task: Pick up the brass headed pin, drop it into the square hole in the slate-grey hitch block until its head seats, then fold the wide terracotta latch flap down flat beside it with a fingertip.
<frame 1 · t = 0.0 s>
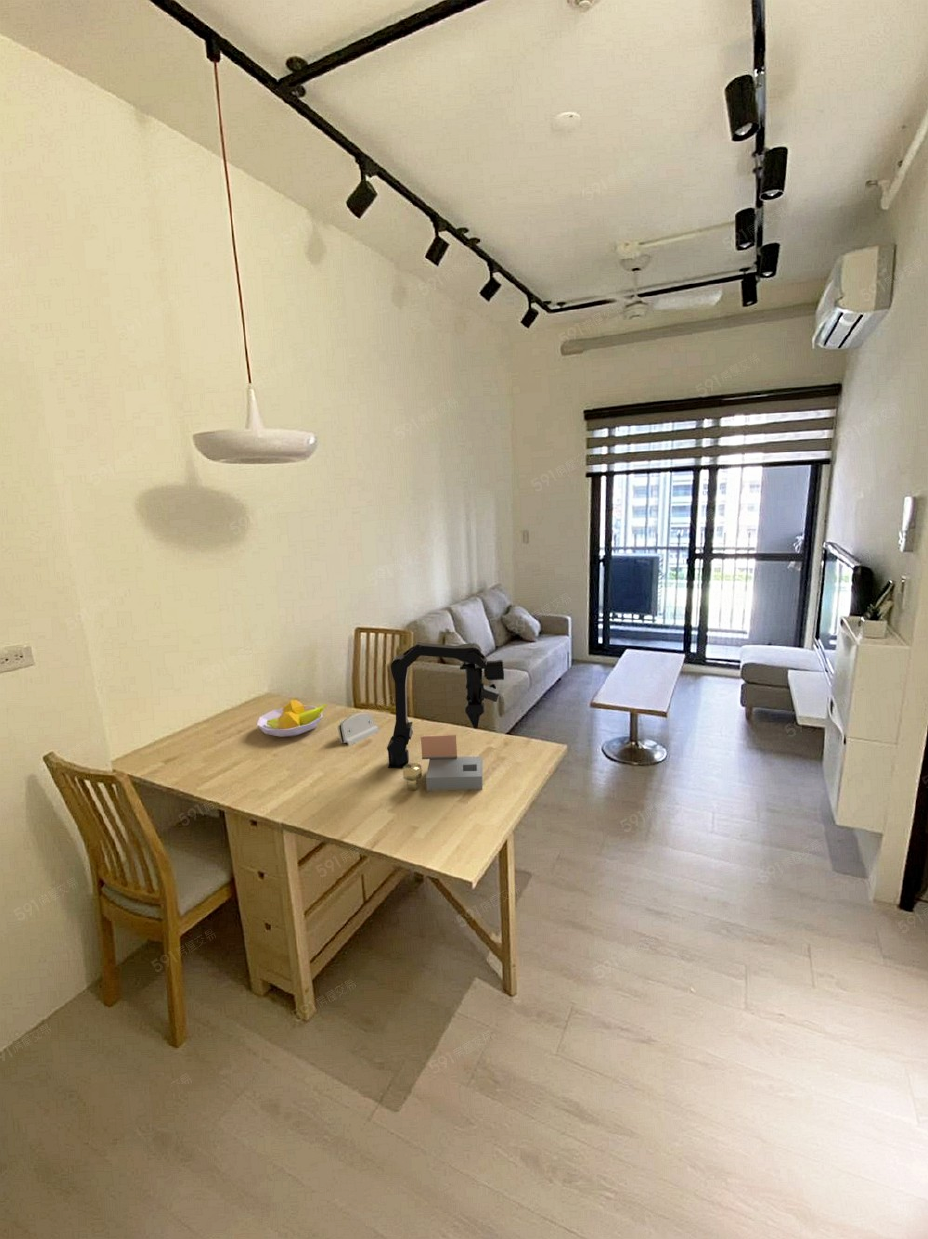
hand: (476, 723, 192), 15 cm above the table, fingers open, 9 cm apart
fruit bowl: (294, 730, 231), on the table
brass pin: (413, 787, 180), on the table
hitch block: (455, 779, 184), on the table
hinge: (358, 737, 222), on the table
latch flap: (439, 747, 188), point 9 cm above the table, hinge at 0.0°
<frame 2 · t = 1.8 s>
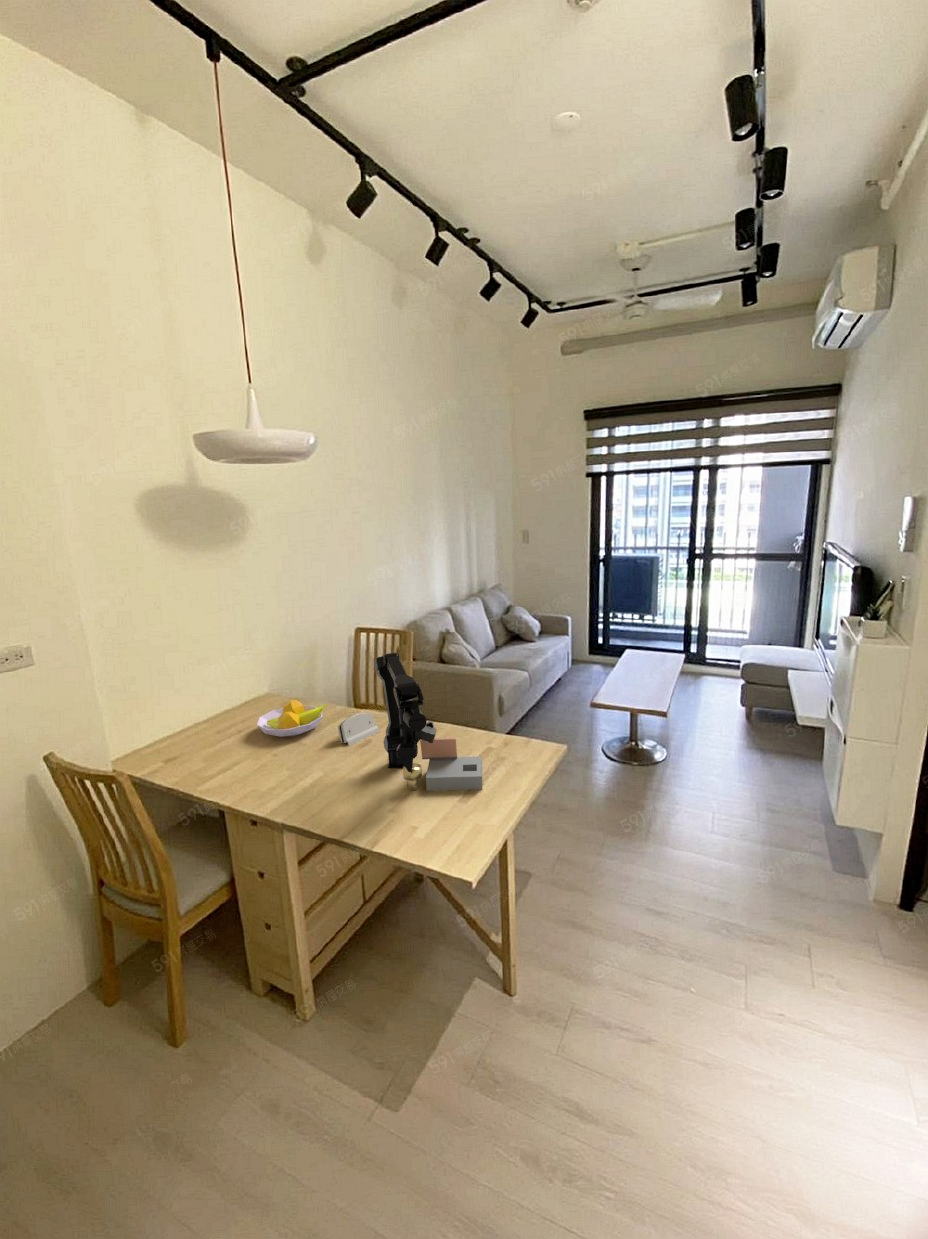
hand: (411, 764, 178), 8 cm above the table, fingers open, 9 cm apart
latch flap: (438, 748, 187), point 9 cm above the table, hinge at 15.1°
everything else where it was.
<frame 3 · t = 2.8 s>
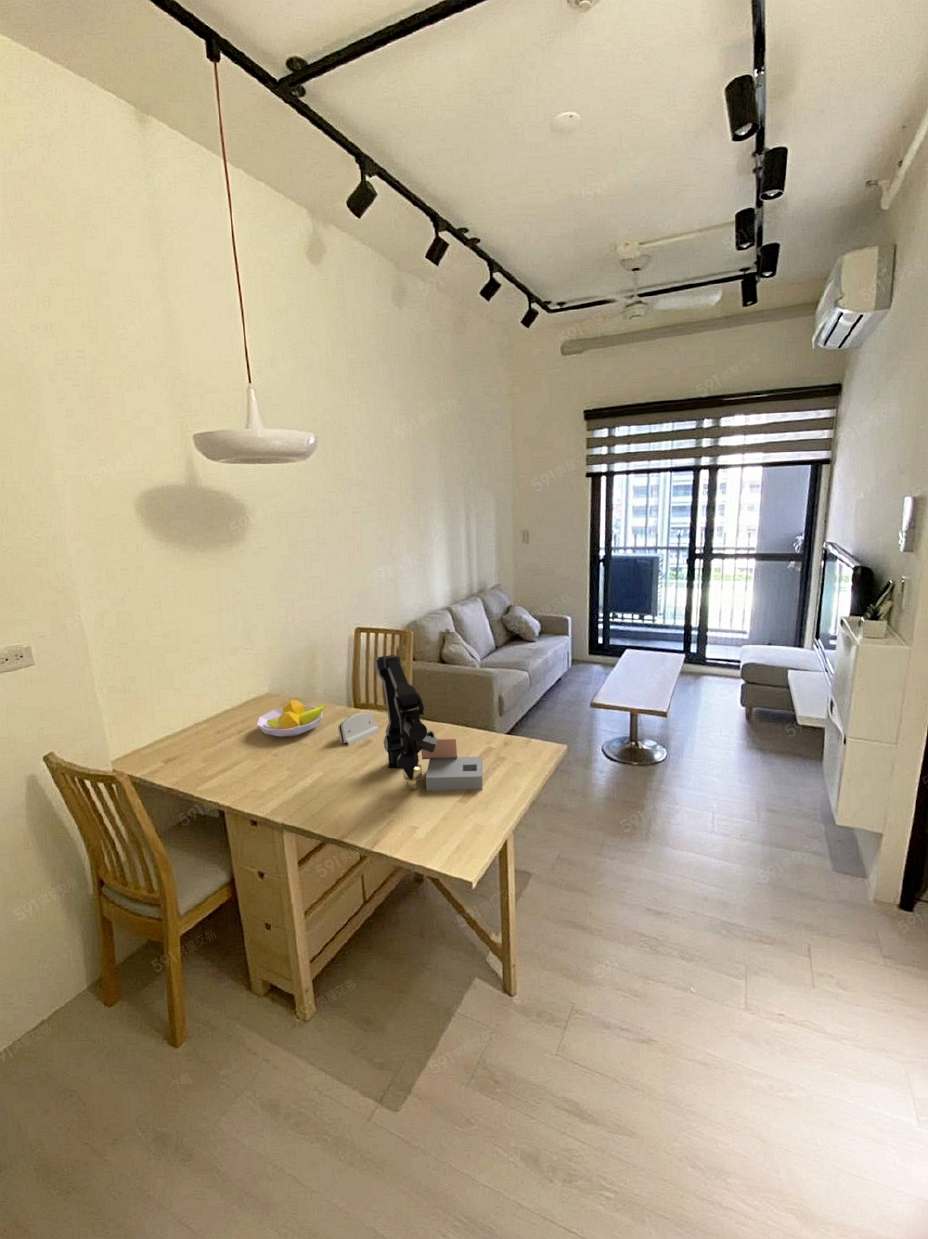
hand: (412, 774, 179), 5 cm above the table, fingers closed on brass pin, 6 cm apart
brass pin: (413, 787, 180), on the table, touching gripper
everything else where it was.
when the fingers open (5 cm above the table, at t = 7.5 s): brass pin stays where it is, resting on hitch block.
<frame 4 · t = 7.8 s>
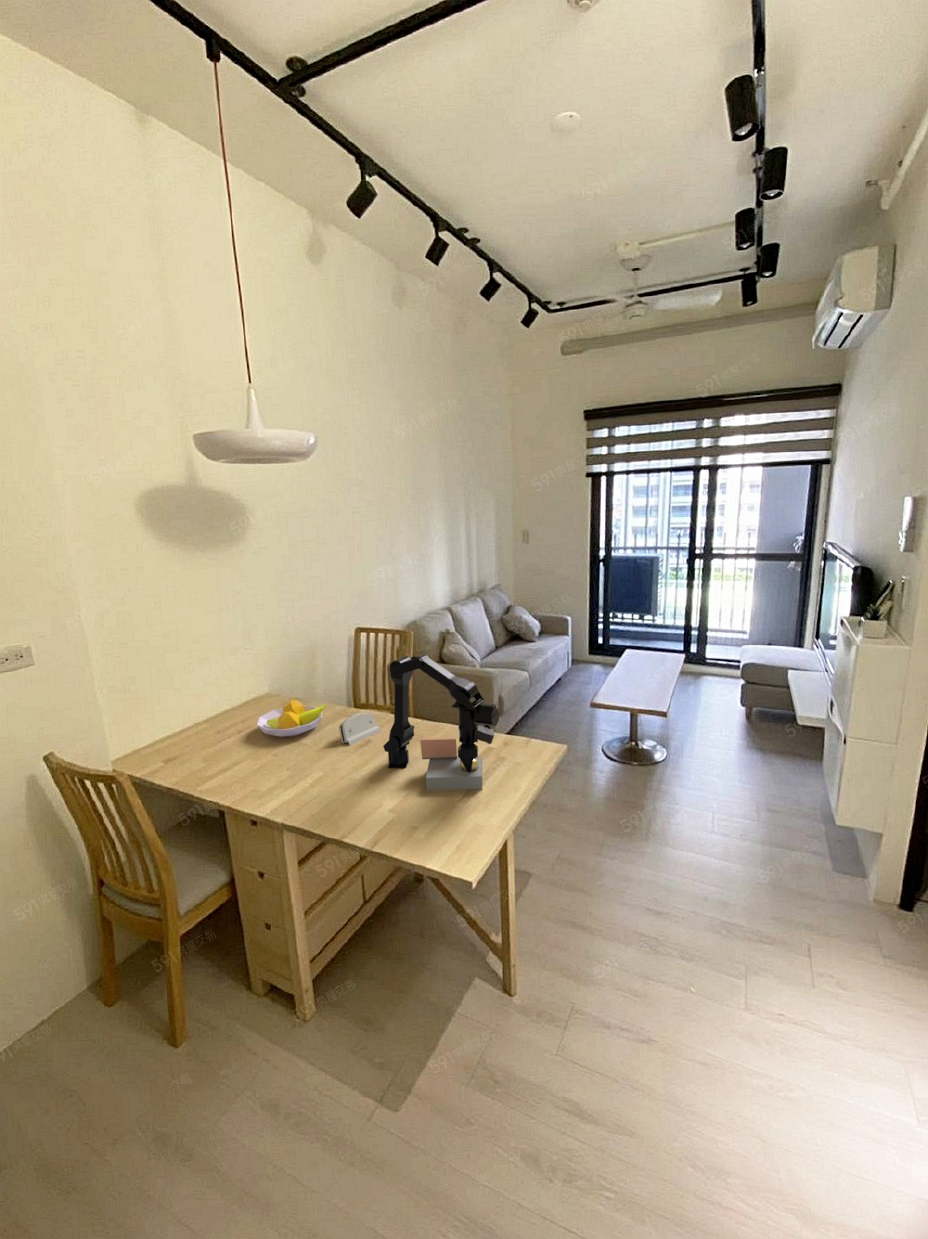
hand: (469, 765, 182), 5 cm above the table, fingers open, 9 cm apart
brass pin: (470, 779, 183), resting on hitch block
everything else where it was.
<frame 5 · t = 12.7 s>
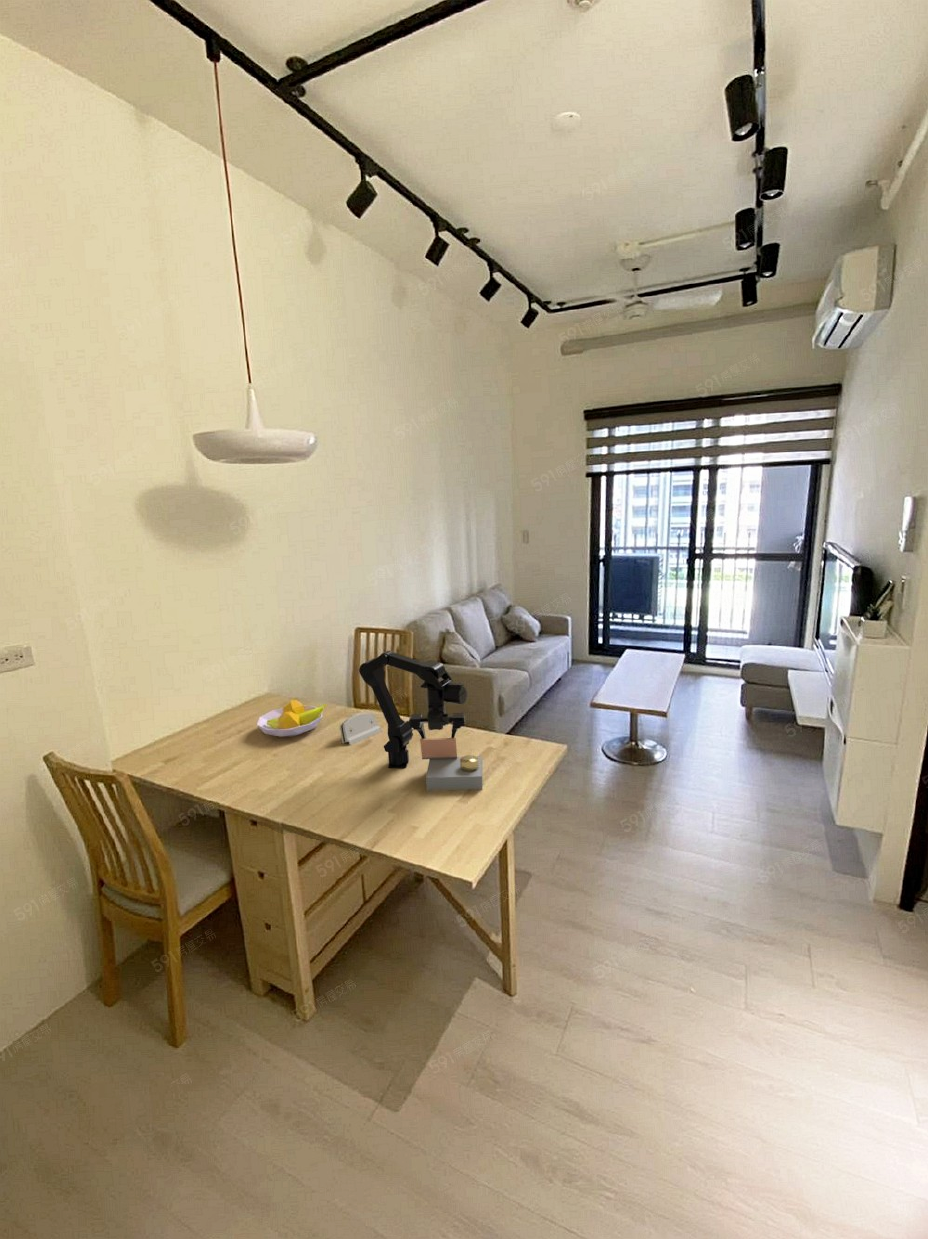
hand: (438, 743, 188), 10 cm above the table
latch flap: (438, 748, 187), point 9 cm above the table, hinge at 15.4°, touching gripper
everything else where it was.
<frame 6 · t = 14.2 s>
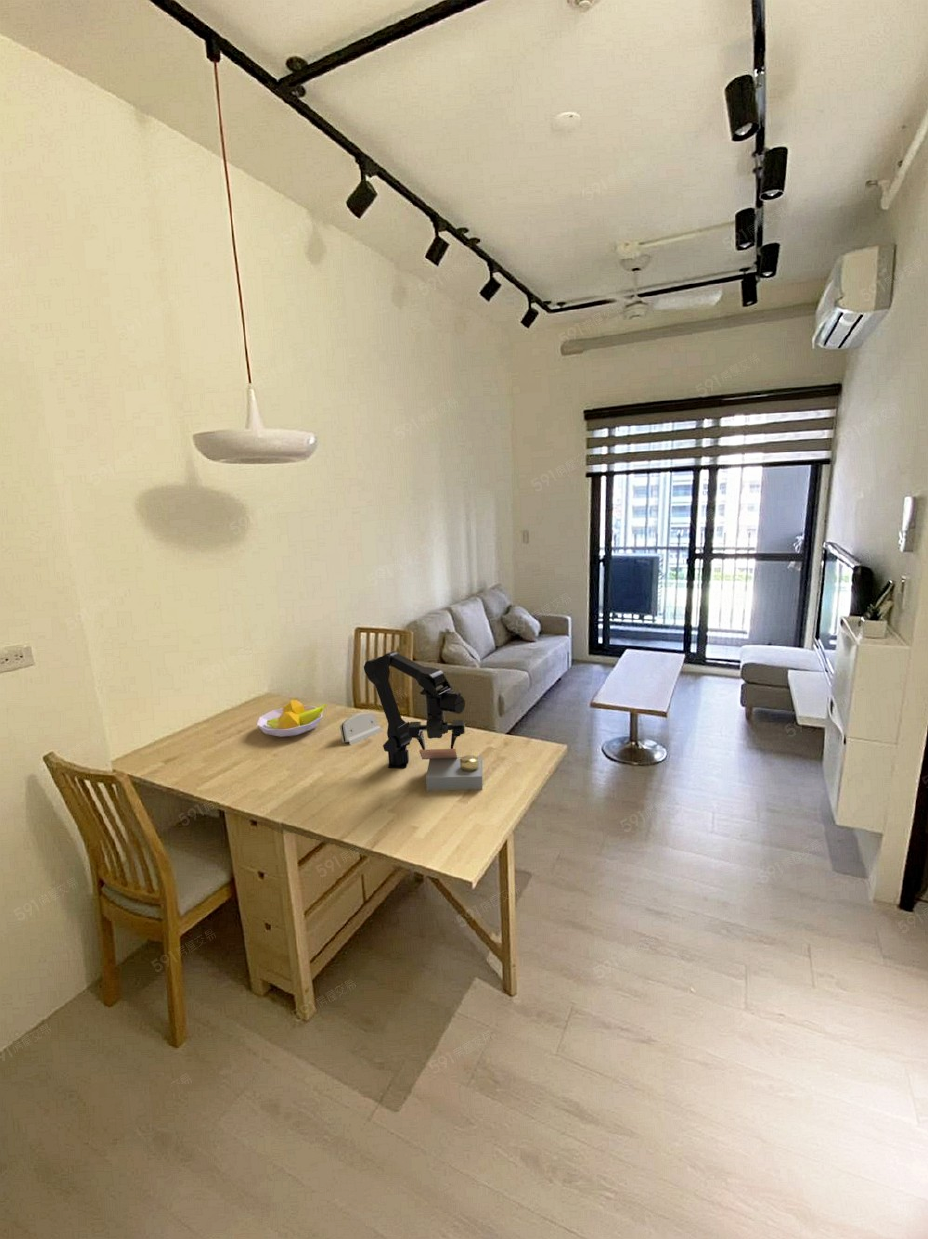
hand: (438, 751, 185), 9 cm above the table
latch flap: (438, 754, 186), point 8 cm above the table, hinge at 47.9°, touching gripper
everything else where it was.
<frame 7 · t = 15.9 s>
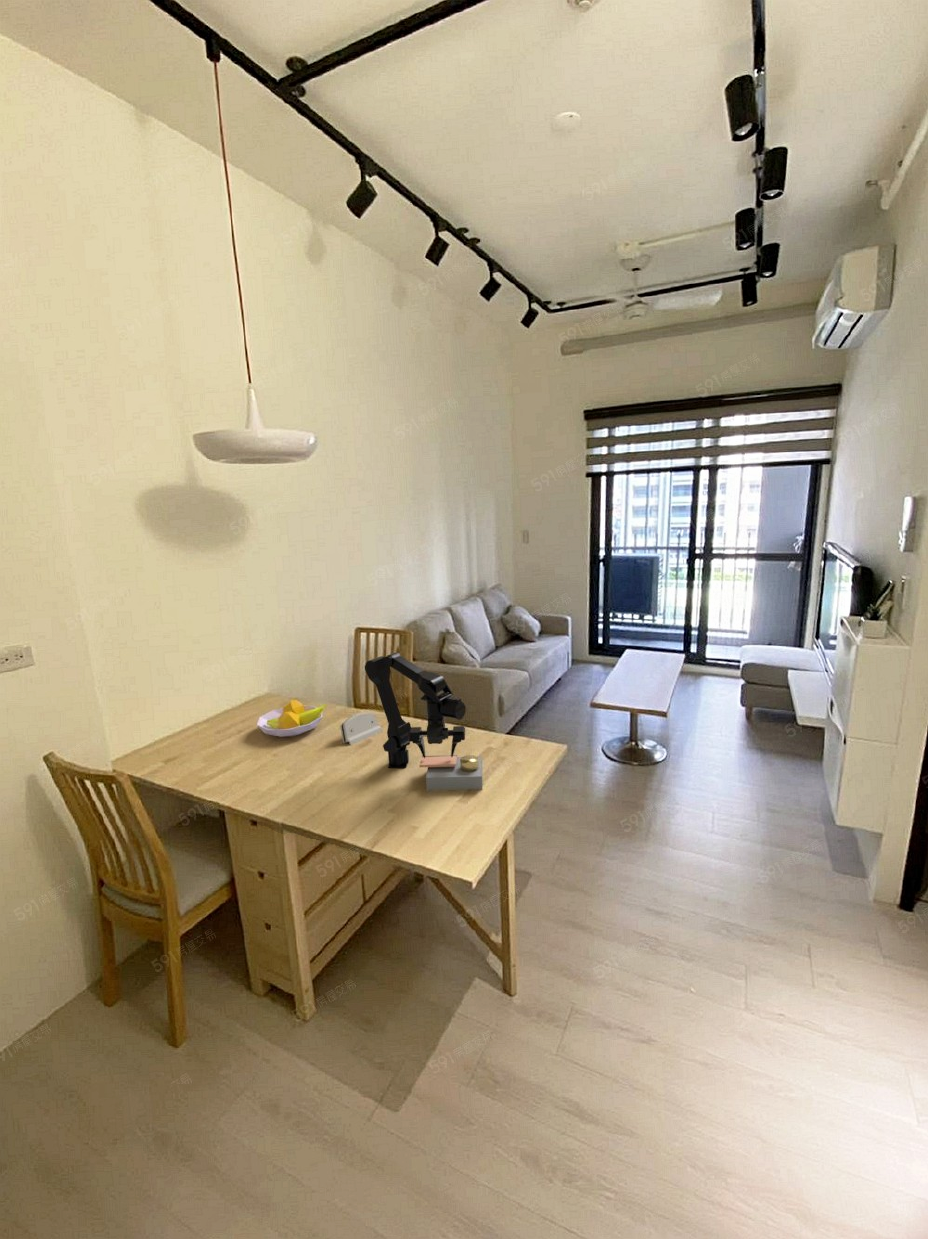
hand: (438, 757, 185), 7 cm above the table, fingers open, 9 cm apart
latch flap: (438, 761, 185), point 6 cm above the table, hinge at 83.5°
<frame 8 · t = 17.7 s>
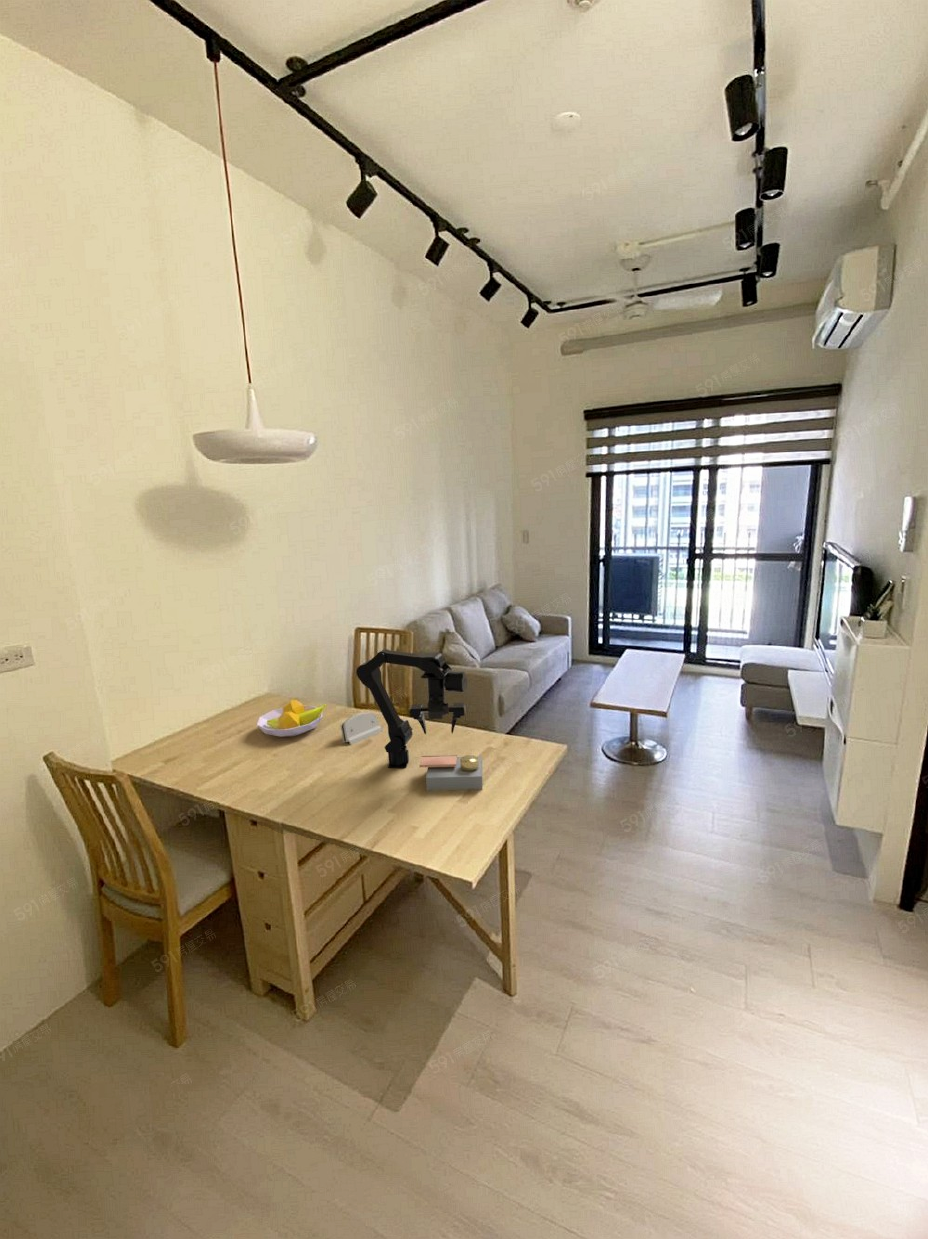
hand: (438, 733, 189), 13 cm above the table, fingers open, 9 cm apart
at the end: brass pin 0.0 cm from the target spot on the hitch block, point 0.3 cm above the hitch block's base; brass pin tilted 0°; latch flap at +84° (first picture: +0°) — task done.
